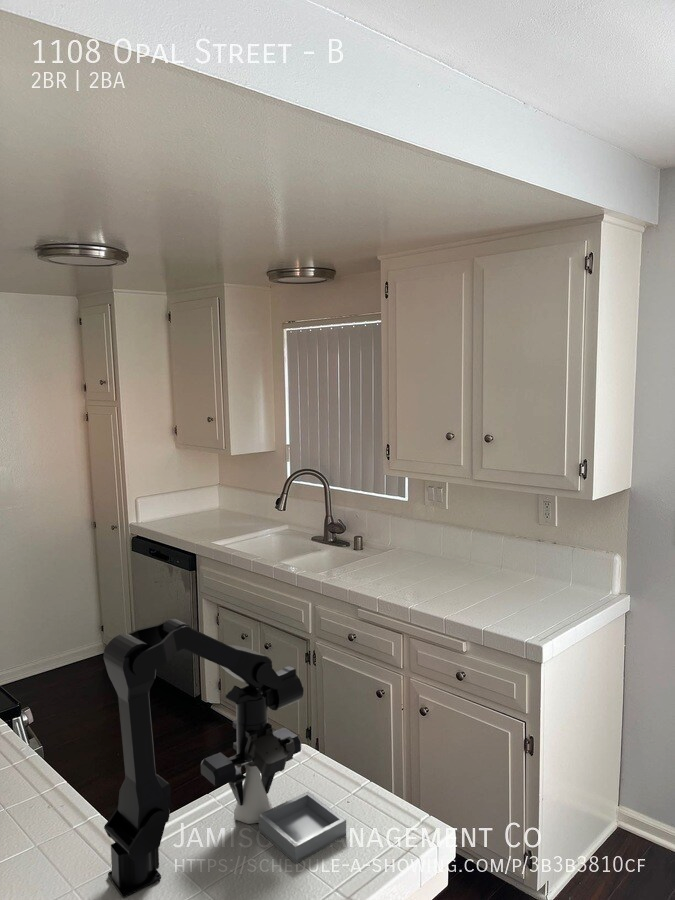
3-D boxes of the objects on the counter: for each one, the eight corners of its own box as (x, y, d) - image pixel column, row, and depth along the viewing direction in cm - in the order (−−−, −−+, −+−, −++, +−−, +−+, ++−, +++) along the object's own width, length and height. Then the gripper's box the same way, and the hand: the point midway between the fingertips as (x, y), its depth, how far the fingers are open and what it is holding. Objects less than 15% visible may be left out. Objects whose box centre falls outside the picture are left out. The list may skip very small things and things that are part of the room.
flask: (267, 827, 123) (266, 774, 122) (228, 823, 124) (227, 771, 124) (277, 803, 130) (276, 753, 130) (240, 799, 132) (239, 750, 131)
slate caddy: (295, 863, 114) (295, 846, 114) (258, 830, 122) (258, 814, 122) (346, 835, 121) (346, 819, 121) (308, 806, 129) (308, 791, 129)
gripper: (230, 753, 114) (232, 842, 115) (319, 718, 125) (319, 799, 127) (198, 728, 122) (200, 810, 124) (283, 697, 134) (284, 773, 135)
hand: (253, 798), depth 127 cm, fingers closed on flask, 5 cm apart
